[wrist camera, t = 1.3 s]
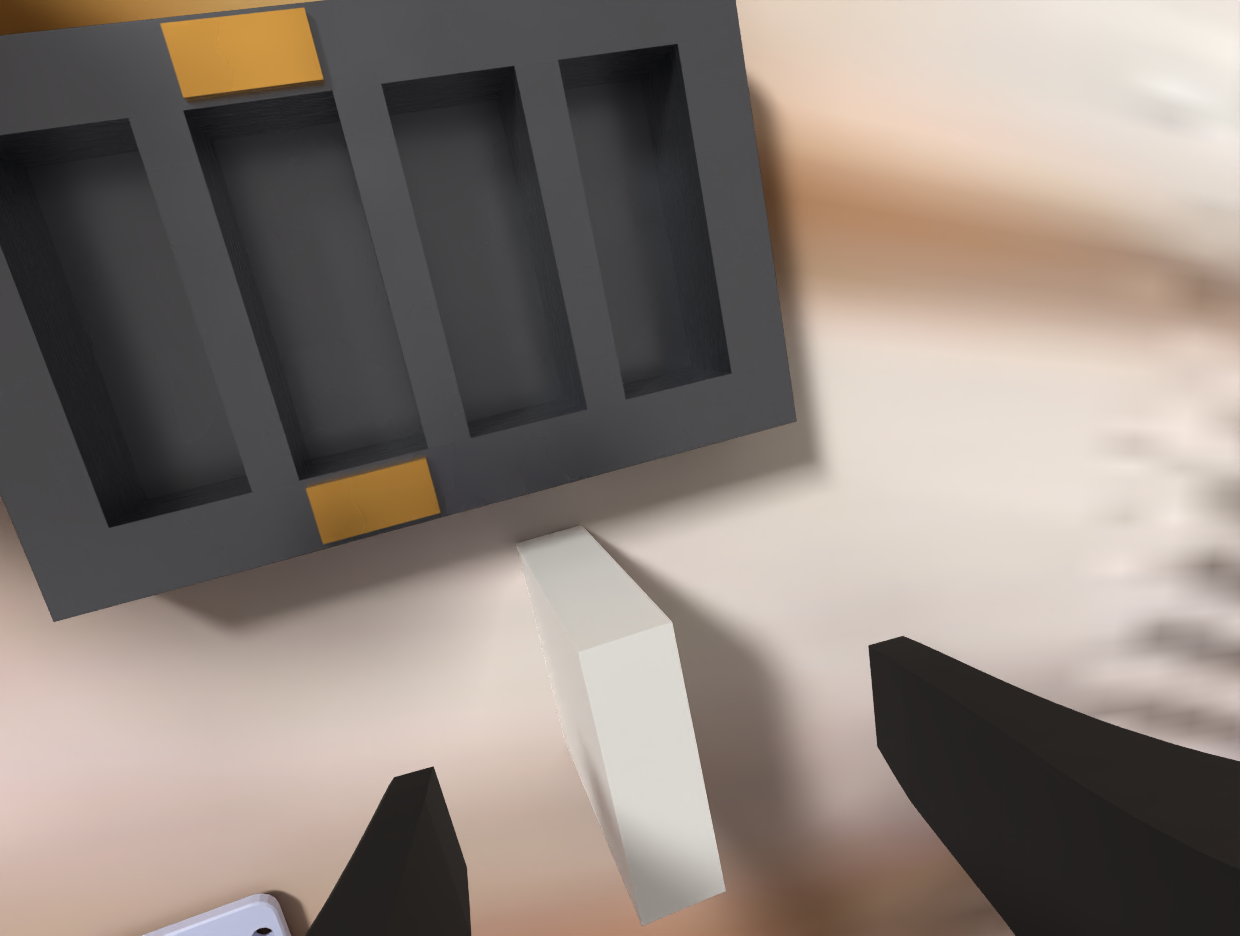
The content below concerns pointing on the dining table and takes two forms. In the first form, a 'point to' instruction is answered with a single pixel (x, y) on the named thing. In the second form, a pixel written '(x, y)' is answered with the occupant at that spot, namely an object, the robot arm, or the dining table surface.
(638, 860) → the panel
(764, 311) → the rack
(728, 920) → the dining table surface
